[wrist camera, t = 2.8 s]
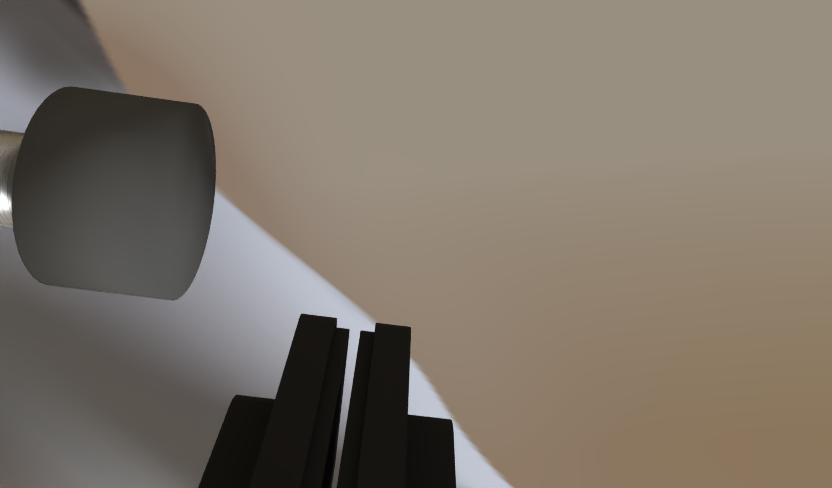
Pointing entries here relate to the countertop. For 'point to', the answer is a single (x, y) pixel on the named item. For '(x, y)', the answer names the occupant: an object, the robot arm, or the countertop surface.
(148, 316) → the countertop surface
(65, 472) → the countertop surface
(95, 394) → the countertop surface
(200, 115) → the shaft
